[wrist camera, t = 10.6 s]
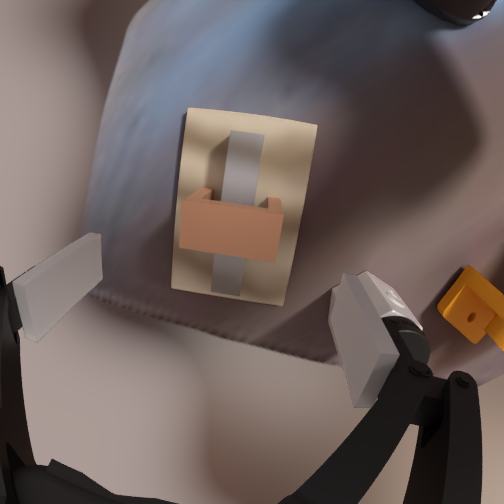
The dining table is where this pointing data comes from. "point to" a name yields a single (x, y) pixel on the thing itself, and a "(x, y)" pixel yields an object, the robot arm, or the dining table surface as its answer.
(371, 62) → the dining table surface
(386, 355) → the robot arm
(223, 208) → the clip
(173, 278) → the rail board
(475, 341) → the bracket
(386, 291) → the jar
